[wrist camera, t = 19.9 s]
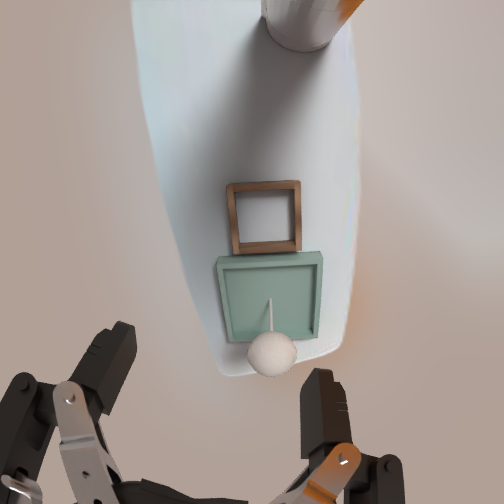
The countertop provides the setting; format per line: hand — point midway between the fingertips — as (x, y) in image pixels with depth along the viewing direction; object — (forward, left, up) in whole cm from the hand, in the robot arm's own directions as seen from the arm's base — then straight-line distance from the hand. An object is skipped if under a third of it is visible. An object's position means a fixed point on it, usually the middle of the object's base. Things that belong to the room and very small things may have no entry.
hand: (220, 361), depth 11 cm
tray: (+14, -8, -29) cm, 33 cm away
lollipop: (+14, -8, -28) cm, 33 cm away
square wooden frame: (+3, 0, -29) cm, 29 cm away
